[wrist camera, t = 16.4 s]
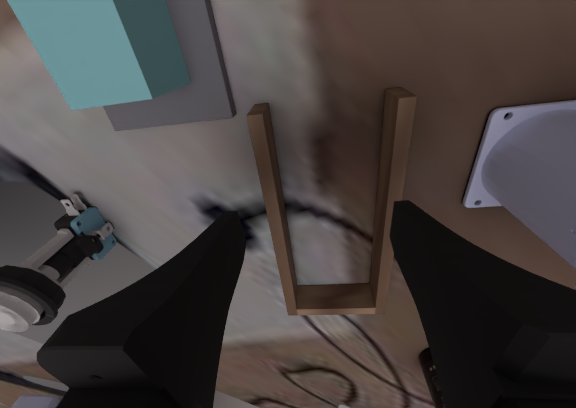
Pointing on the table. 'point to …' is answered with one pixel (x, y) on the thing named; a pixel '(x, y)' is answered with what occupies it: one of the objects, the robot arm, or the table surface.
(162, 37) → the block
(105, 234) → the push button
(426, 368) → the supplement bottle
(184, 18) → the pad
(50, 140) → the table surface
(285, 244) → the channel
